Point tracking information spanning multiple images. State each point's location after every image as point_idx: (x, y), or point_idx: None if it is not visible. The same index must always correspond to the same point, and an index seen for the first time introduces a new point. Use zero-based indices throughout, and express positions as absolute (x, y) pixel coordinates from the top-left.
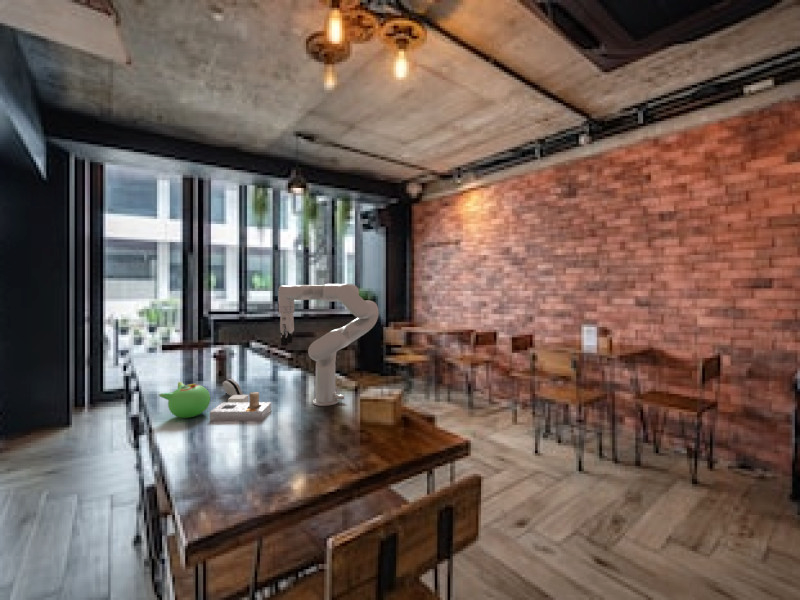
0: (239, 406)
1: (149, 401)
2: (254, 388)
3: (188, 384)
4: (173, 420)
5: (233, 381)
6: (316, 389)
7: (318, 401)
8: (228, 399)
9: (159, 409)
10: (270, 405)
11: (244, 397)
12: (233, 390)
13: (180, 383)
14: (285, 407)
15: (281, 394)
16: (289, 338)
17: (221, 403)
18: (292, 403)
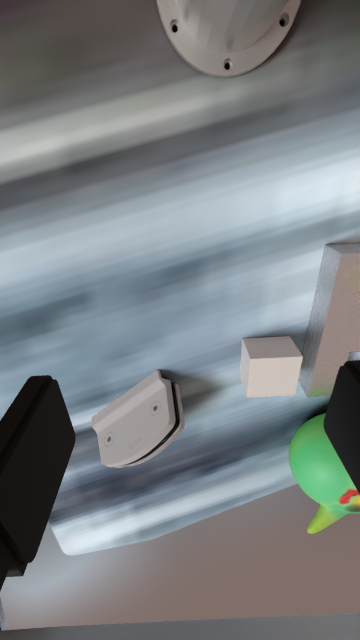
0: None
1: (196, 519)
2: None
3: (356, 509)
4: None
5: (155, 444)
6: (277, 10)
7: (274, 20)
8: (294, 392)
9: (258, 487)
10: (346, 250)
11: (285, 358)
12: (182, 416)
13: (326, 526)
14: (287, 202)
15: (96, 275)
16: (35, 462)
17: (317, 396)
18: (231, 188)
